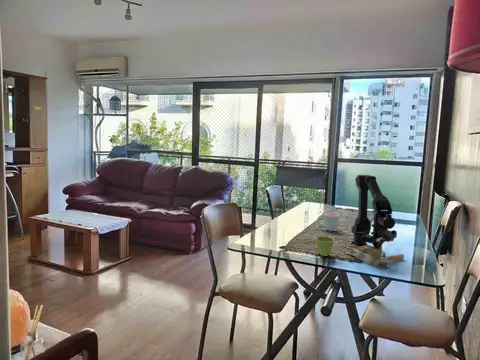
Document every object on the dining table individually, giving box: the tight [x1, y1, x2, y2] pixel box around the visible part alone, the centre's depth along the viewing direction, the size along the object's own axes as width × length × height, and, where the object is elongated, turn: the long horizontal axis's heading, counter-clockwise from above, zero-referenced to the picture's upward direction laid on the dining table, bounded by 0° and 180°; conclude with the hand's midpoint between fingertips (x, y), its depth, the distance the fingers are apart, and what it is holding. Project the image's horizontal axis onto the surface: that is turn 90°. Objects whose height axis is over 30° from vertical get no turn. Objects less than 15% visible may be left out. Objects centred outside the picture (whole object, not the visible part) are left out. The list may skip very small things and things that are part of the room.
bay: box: [350, 245, 405, 267], centre depth 188 cm, size 15×22×4 cm
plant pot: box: [315, 235, 335, 256], centre depth 188 cm, size 9×9×9 cm
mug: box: [316, 212, 340, 232], centre depth 236 cm, size 14×9×10 cm
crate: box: [357, 244, 383, 259], centre depth 185 cm, size 8×8×6 cm
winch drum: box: [376, 252, 390, 270], centre depth 174 cm, size 4×4×7 cm
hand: (377, 252), depth 188 cm, fingers closed
